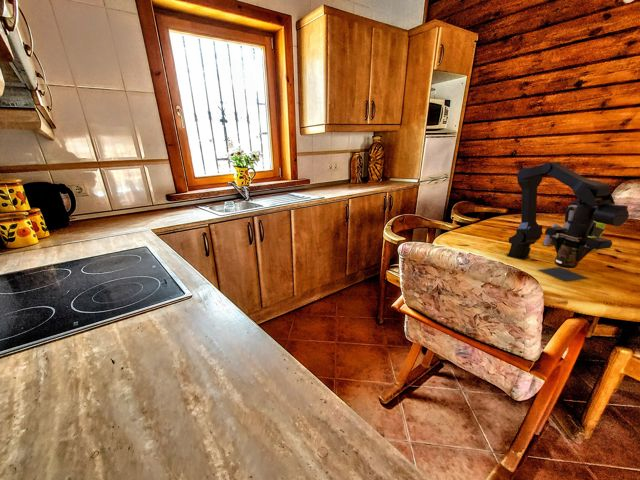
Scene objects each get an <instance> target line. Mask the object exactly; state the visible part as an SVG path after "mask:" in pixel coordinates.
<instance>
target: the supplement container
mask: <svg viewBox="0 0 640 480" xmlns="http://www.w3.org/2000/svg"><path fill="white" fill-rule="evenodd" d="M585 243H586V242H583V241H579V240H576V239H572V238H563V240H562V242H561V246H560V248H559V251H558V253H556V256H555V259H554V261H553V262H554V264H555V265H556V266H558V267H560V268H563V269H575V268H577V267H578V265H579V263H580V261H579V262H577V261H576V260H577V255H578V251H579V247H580V246H581V245H585Z"/></svg>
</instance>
